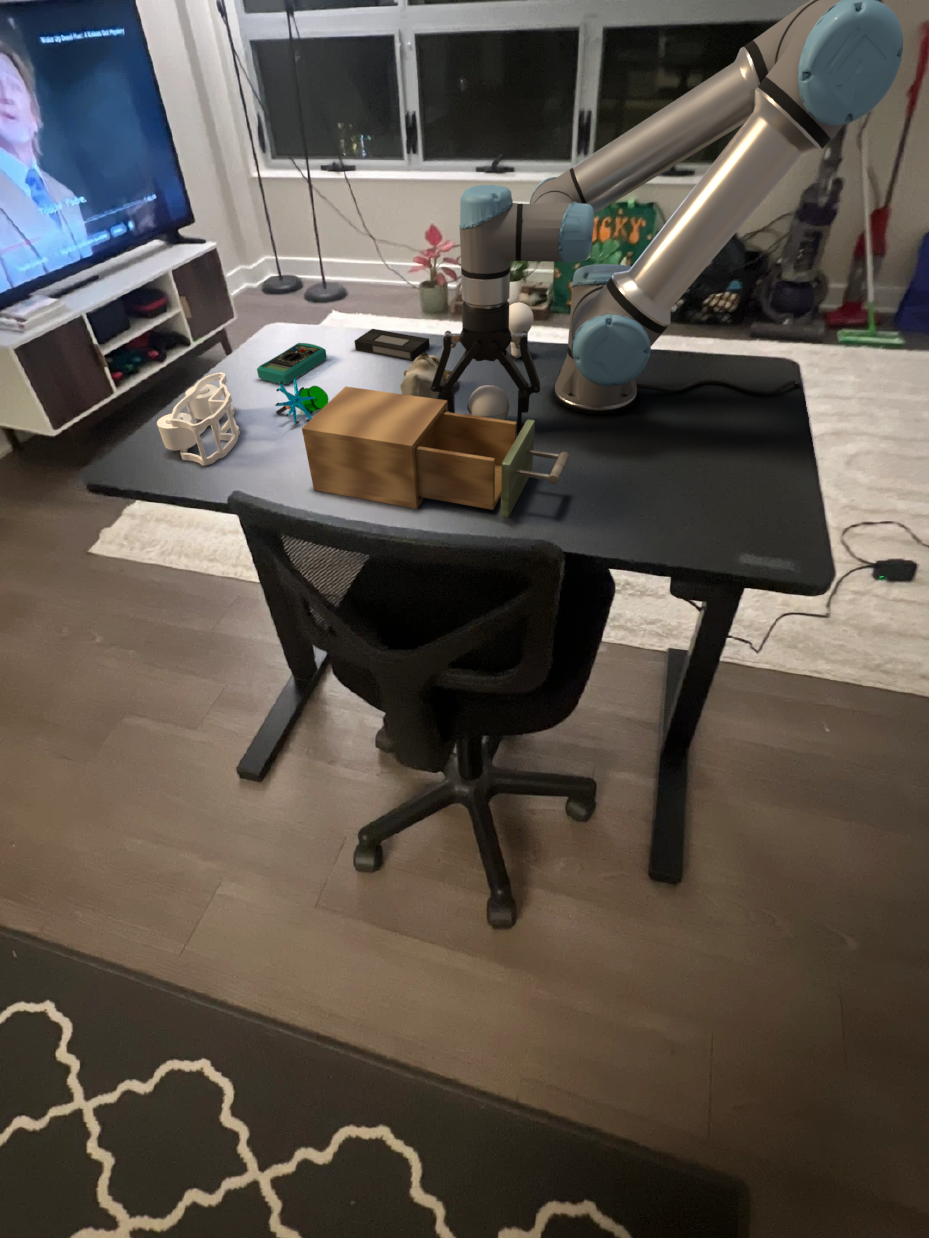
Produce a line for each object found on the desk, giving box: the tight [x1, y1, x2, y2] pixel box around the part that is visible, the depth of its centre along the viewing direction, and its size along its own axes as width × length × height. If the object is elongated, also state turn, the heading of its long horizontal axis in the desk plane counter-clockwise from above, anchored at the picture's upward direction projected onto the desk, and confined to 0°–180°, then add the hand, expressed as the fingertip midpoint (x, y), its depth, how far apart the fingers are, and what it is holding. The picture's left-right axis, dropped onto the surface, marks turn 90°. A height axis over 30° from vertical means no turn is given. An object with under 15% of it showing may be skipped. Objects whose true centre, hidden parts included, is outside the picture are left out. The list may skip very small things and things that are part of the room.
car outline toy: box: [156, 372, 241, 467], centre depth 125 cm, size 20×11×7 cm, turn 171°
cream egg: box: [466, 384, 510, 420], centre depth 124 cm, size 10×7×7 cm
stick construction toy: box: [274, 378, 329, 425], centre depth 132 cm, size 12×7×8 cm
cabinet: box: [301, 385, 448, 510], centre depth 112 cm, size 18×15×11 cm
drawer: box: [414, 411, 570, 518], centre depth 108 cm, size 23×14×9 cm, turn 71°
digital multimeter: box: [256, 342, 328, 386], centre depth 146 cm, size 7×15×3 cm, turn 153°
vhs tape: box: [353, 328, 431, 361], centre depth 153 cm, size 8×14×2 cm, turn 64°
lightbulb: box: [509, 301, 534, 359], centre depth 145 cm, size 6×6×11 cm
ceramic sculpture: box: [399, 351, 453, 399], centre depth 134 cm, size 11×9×15 cm
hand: (485, 428), depth 127 cm, fingers open, 11 cm apart
